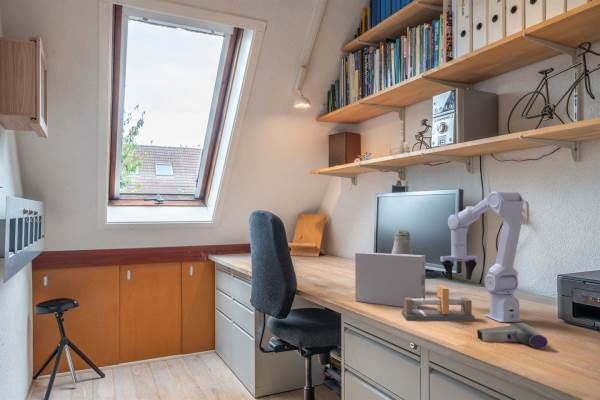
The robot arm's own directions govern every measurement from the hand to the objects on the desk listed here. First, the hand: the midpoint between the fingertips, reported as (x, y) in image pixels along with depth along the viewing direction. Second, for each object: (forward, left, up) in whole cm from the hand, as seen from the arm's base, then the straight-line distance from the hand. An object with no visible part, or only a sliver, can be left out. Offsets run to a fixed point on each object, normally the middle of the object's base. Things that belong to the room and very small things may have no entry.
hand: (459, 279), depth 170 cm
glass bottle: (+33, +10, -10) cm, 36 cm away
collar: (-17, +16, -8) cm, 25 cm away
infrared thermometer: (-46, +11, -11) cm, 49 cm away
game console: (+7, +26, -10) cm, 29 cm away
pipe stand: (-17, +18, -10) cm, 26 cm away
